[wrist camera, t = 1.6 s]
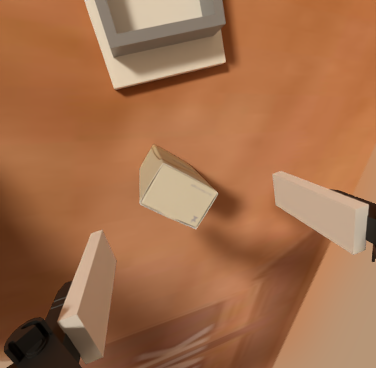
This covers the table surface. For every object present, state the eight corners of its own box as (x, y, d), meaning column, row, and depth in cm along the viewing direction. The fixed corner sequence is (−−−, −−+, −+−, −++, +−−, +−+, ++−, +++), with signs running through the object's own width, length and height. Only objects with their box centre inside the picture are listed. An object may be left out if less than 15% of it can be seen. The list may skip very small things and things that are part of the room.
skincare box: (190, 164, 31) (222, 192, 19) (174, 189, 31) (197, 231, 20) (151, 142, 28) (163, 160, 17) (136, 170, 29) (138, 205, 18)
